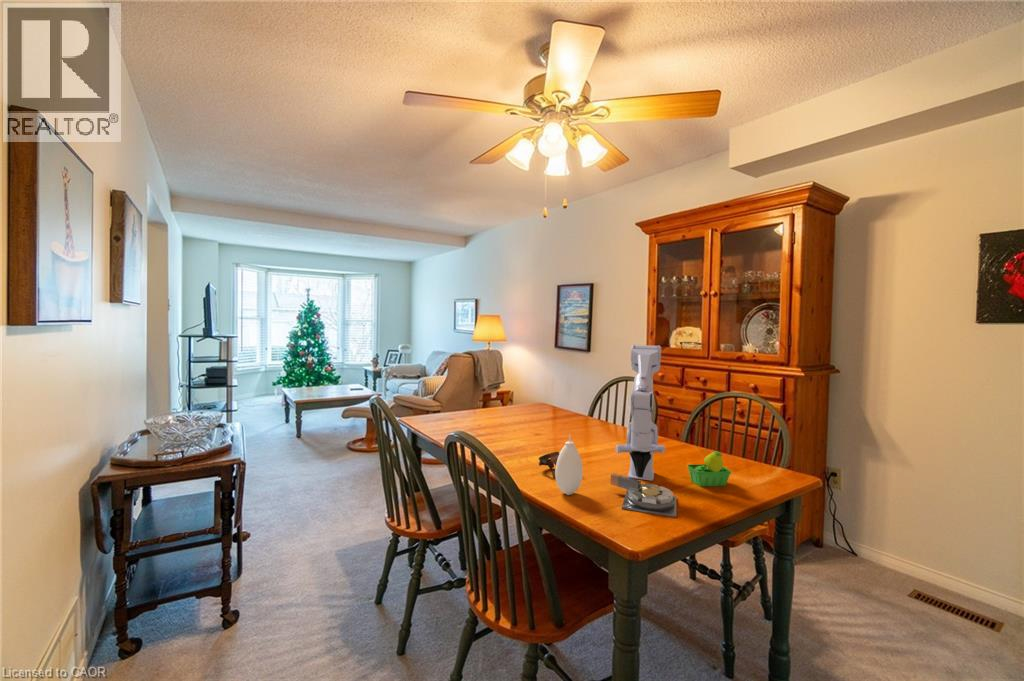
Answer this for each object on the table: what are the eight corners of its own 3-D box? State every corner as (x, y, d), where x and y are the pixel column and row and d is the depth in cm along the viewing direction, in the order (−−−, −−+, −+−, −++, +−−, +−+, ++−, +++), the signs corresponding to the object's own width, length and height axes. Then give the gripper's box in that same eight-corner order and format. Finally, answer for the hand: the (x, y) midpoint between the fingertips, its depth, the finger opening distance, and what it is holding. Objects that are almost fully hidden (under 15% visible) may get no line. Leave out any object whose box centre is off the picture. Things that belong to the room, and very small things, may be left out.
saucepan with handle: (611, 482, 138) (611, 472, 137) (672, 491, 132) (673, 480, 131) (605, 496, 126) (605, 486, 126) (672, 506, 120) (673, 495, 120)
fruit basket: (717, 478, 150) (718, 445, 150) (734, 488, 141) (736, 452, 141) (685, 479, 148) (686, 445, 148) (700, 489, 140) (702, 453, 139)
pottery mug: (545, 480, 146) (537, 455, 149) (542, 484, 154) (534, 460, 158) (580, 470, 148) (572, 445, 151) (575, 474, 156) (567, 450, 160)
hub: (626, 491, 137) (627, 476, 137) (676, 498, 132) (676, 482, 132) (621, 508, 124) (622, 492, 124) (676, 517, 119) (676, 500, 119)
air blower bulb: (574, 501, 128) (575, 438, 128) (550, 494, 133) (551, 433, 132) (586, 492, 135) (588, 433, 134) (563, 486, 139) (564, 428, 139)
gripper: (621, 434, 131) (620, 481, 132) (670, 434, 132) (668, 480, 133) (614, 428, 138) (612, 472, 139) (660, 429, 139) (658, 472, 140)
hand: (639, 476), depth 136 cm, fingers closed
